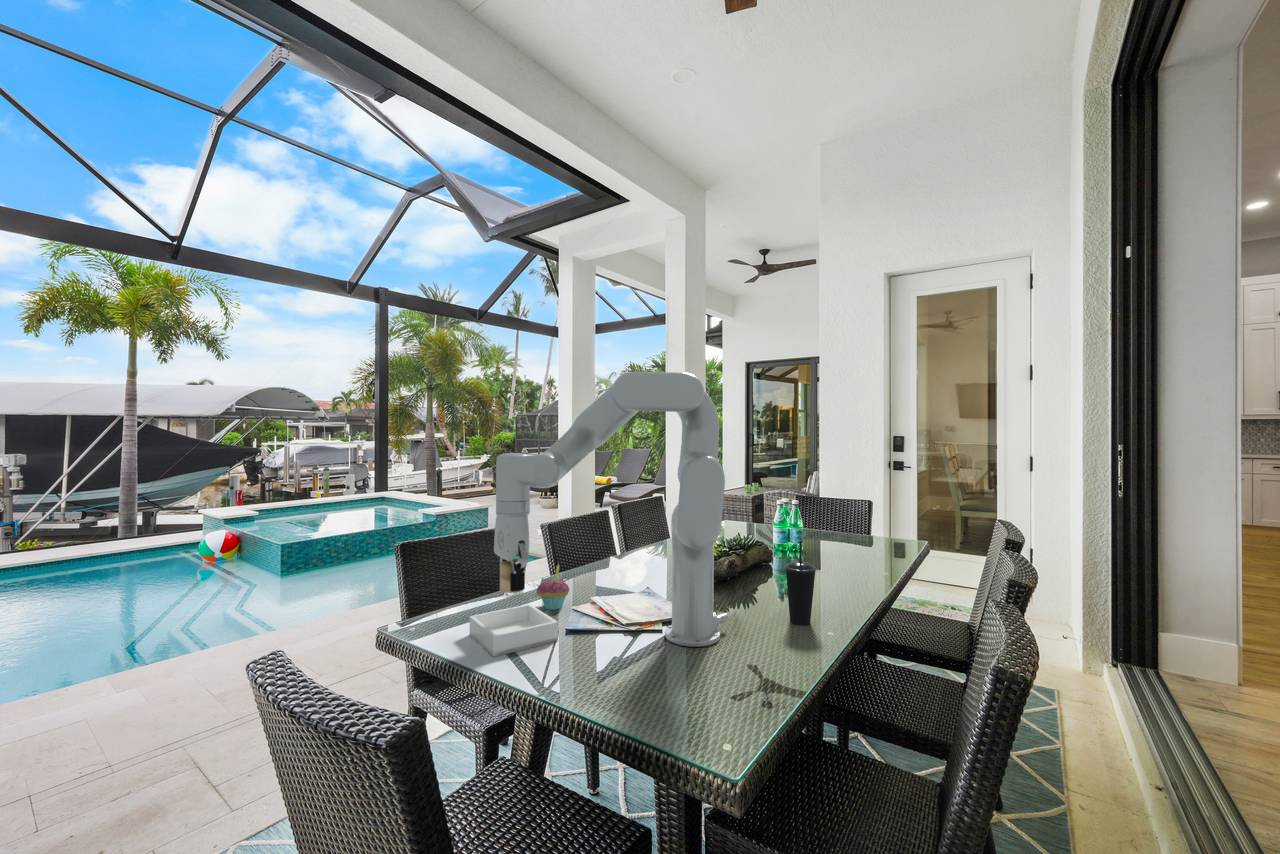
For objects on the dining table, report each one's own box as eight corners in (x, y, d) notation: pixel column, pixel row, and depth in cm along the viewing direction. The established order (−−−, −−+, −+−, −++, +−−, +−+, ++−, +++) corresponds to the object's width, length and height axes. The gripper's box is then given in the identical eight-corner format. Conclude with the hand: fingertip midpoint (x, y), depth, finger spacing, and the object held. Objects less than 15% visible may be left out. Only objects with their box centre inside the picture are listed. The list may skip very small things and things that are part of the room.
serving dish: (529, 621, 138) (529, 603, 138) (557, 640, 126) (557, 621, 125) (469, 634, 129) (469, 616, 129) (493, 657, 117) (493, 636, 117)
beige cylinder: (518, 584, 131) (518, 558, 131) (527, 590, 127) (528, 563, 126) (496, 588, 128) (496, 562, 128) (505, 594, 123) (505, 567, 123)
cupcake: (575, 605, 150) (575, 560, 150) (554, 614, 143) (554, 567, 143) (551, 599, 154) (551, 556, 154) (529, 608, 147) (529, 563, 147)
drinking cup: (782, 624, 136) (782, 542, 136) (786, 614, 143) (786, 536, 143) (814, 629, 133) (815, 545, 133) (817, 619, 140) (818, 539, 140)
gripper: (483, 504, 132) (482, 580, 132) (511, 514, 118) (511, 600, 118) (513, 501, 136) (512, 575, 136) (544, 511, 122) (543, 594, 122)
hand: (512, 586), depth 127 cm, fingers closed on beige cylinder, 5 cm apart
